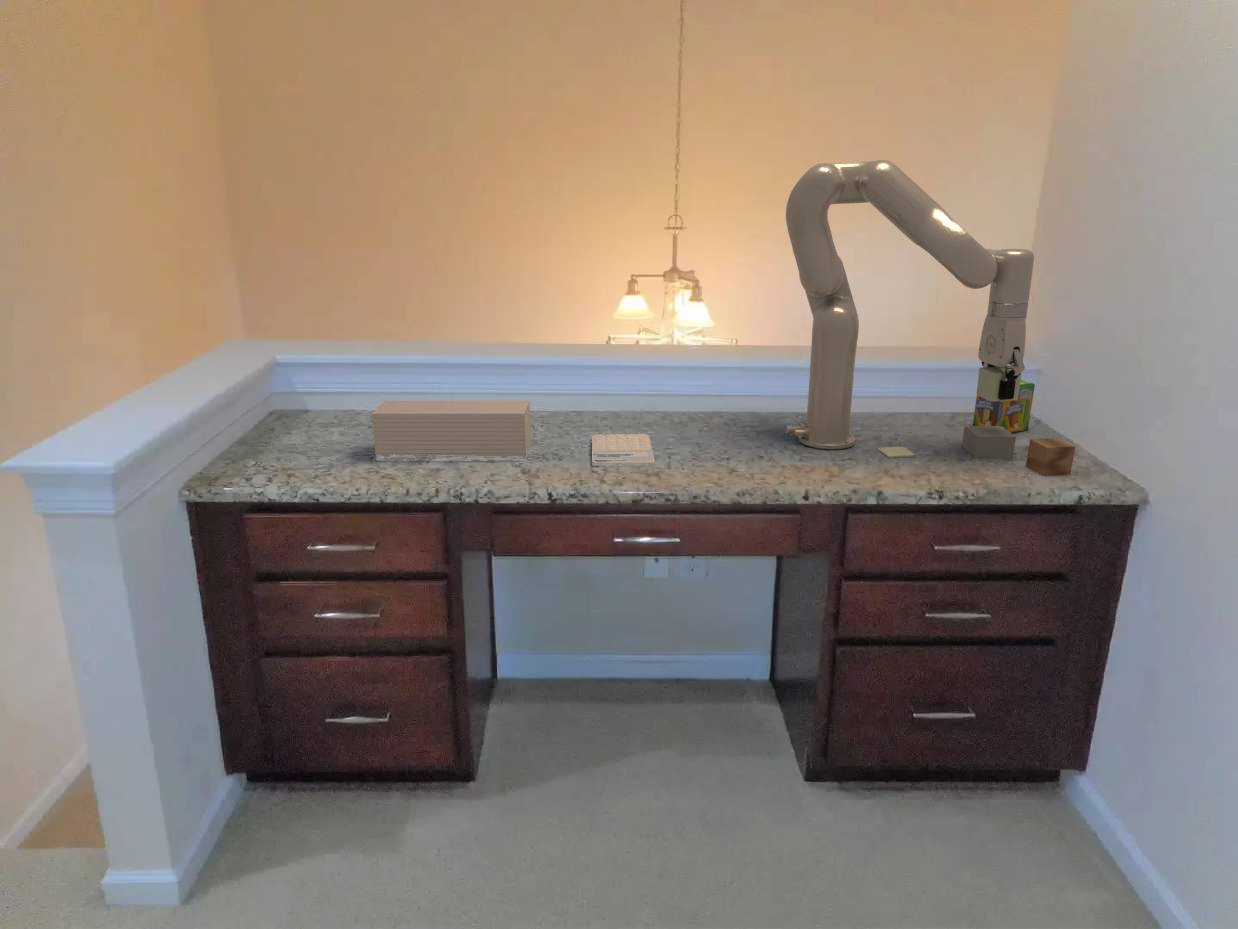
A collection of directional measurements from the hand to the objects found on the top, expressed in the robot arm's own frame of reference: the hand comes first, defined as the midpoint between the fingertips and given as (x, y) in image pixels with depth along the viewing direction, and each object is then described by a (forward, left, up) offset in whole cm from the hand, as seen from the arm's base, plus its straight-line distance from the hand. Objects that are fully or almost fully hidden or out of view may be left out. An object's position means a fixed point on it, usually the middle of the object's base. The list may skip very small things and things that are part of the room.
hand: (997, 394), depth 184 cm
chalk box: (+13, +17, -13) cm, 25 cm away
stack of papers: (-115, +15, -13) cm, 117 cm away
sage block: (0, 0, -1) cm, 1 cm away
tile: (-20, +2, -13) cm, 24 cm away
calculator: (-79, +11, -14) cm, 81 cm away
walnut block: (+6, -13, -13) cm, 19 cm away
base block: (0, 0, -13) cm, 13 cm away
